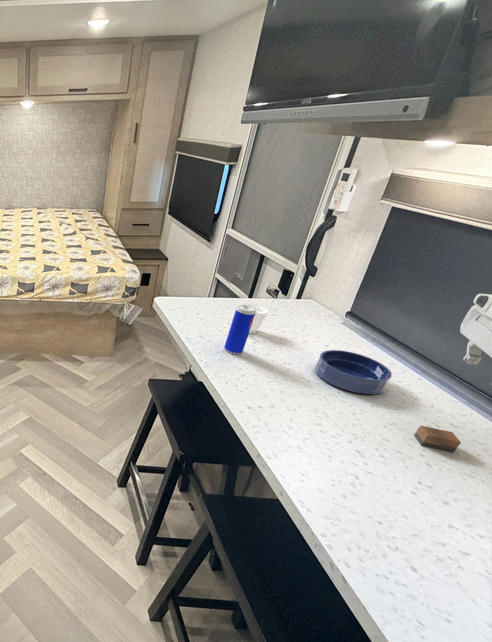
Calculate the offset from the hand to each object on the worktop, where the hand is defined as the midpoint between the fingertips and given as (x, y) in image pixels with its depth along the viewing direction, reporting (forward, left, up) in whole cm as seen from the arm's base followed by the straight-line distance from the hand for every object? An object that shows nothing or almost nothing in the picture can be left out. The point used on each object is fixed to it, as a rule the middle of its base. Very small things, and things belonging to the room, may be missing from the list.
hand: (482, 374), depth 80 cm
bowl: (+10, -23, -19) cm, 31 cm away
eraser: (0, 0, -19) cm, 19 cm away
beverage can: (+38, -28, -19) cm, 51 cm away
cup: (+32, -44, -19) cm, 58 cm away
